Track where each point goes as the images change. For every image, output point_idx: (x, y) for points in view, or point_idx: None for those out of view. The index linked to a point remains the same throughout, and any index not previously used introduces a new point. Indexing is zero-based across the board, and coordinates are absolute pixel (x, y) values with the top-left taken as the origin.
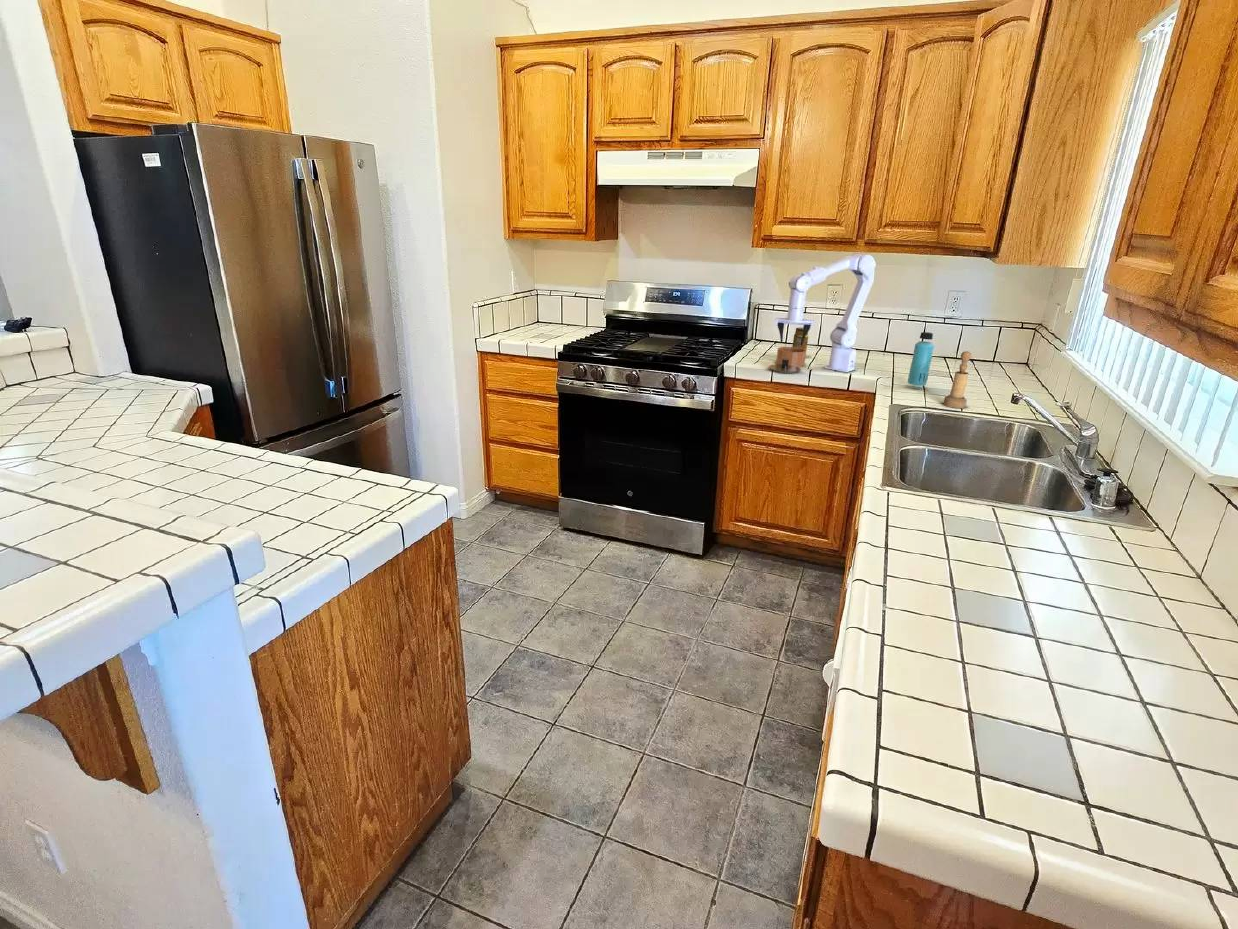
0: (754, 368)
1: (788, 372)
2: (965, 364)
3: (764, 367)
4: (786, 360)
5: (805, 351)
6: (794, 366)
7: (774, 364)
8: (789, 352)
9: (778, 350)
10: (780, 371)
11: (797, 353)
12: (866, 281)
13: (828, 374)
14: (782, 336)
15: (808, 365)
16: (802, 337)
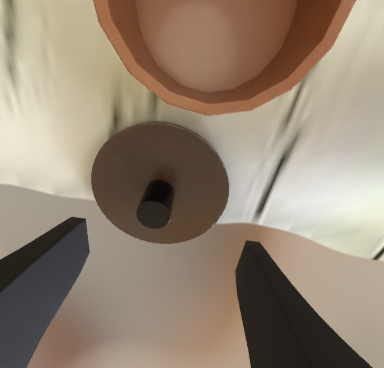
0: (40, 179)
1: (171, 241)
2: None
3: (76, 150)
4: (157, 227)
5: (330, 46)
6: (211, 157)
7: (114, 137)
8: (183, 107)
9: (98, 7)
10: (142, 238)
11: (242, 110)
12: None
13: (334, 209)
14: (53, 314)
15: None
16: (249, 341)
